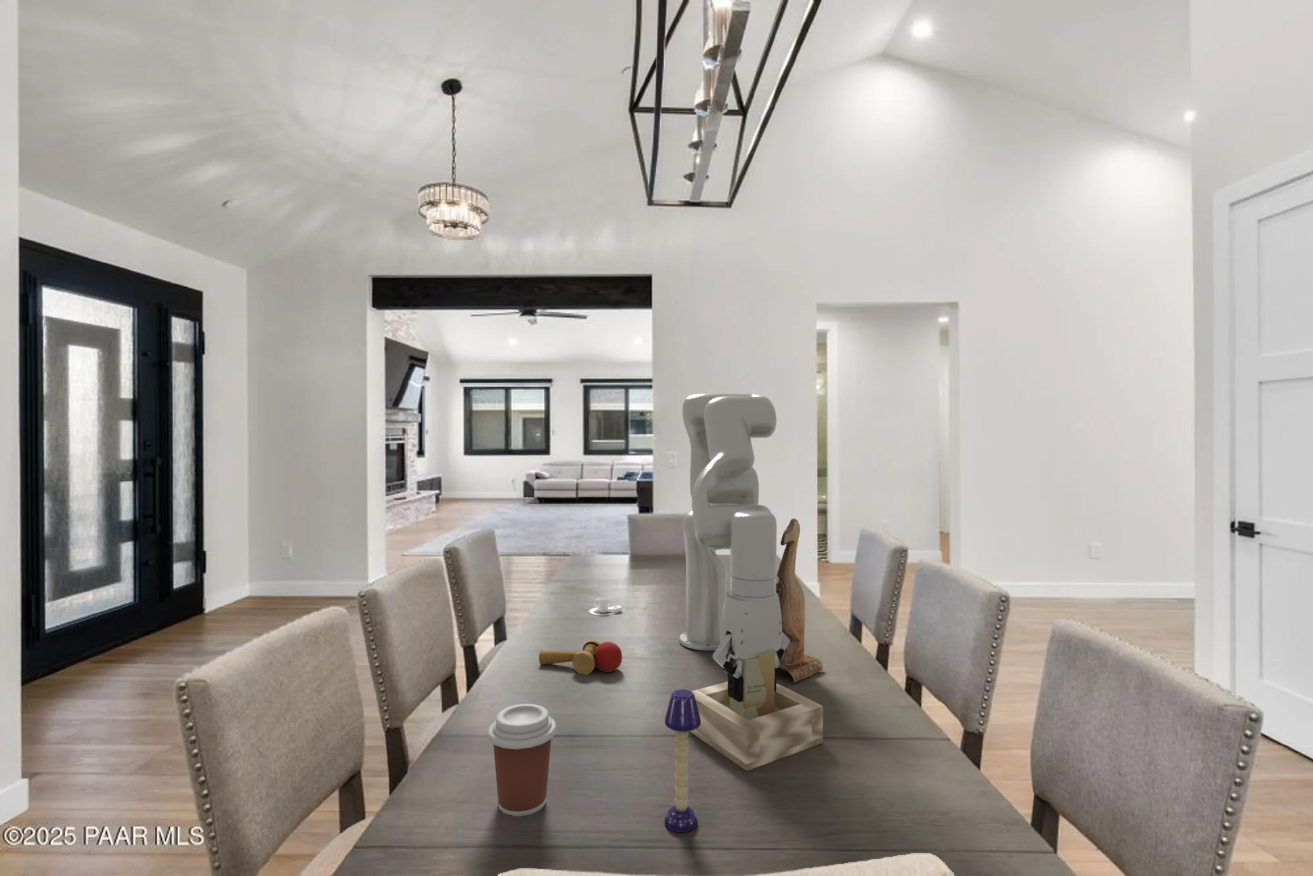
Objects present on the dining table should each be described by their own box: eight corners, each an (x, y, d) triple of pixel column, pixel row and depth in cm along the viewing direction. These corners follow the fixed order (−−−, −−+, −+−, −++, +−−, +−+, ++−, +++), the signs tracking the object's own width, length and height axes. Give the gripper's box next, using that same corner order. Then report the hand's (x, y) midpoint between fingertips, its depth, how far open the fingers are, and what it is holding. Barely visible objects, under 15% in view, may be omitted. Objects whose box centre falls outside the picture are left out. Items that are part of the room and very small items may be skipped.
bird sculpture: (748, 671, 134) (749, 518, 134) (778, 656, 143) (780, 513, 142) (795, 686, 127) (797, 524, 126) (824, 669, 135) (826, 518, 135)
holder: (756, 706, 117) (757, 673, 117) (822, 743, 104) (823, 706, 104) (684, 728, 109) (685, 692, 109) (746, 771, 95) (746, 730, 95)
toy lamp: (662, 811, 85) (663, 686, 85) (697, 809, 86) (698, 685, 85) (666, 834, 80) (666, 701, 80) (703, 832, 81) (703, 700, 81)
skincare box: (743, 731, 103) (744, 655, 103) (728, 720, 107) (729, 647, 107) (775, 722, 106) (776, 649, 106) (760, 712, 110) (760, 641, 110)
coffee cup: (560, 783, 92) (560, 699, 92) (551, 822, 83) (551, 729, 83) (495, 784, 92) (495, 700, 91) (480, 823, 83) (480, 730, 82)
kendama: (534, 678, 134) (616, 674, 129) (532, 647, 135) (613, 641, 131) (549, 671, 141) (627, 667, 137) (547, 641, 142) (625, 637, 138)
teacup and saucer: (625, 612, 178) (626, 597, 178) (608, 619, 172) (608, 604, 172) (600, 607, 183) (600, 593, 183) (583, 614, 176) (583, 599, 176)
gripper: (776, 575, 114) (775, 675, 114) (697, 588, 105) (696, 697, 105) (807, 584, 107) (806, 690, 108) (725, 599, 98) (725, 715, 99)
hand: (752, 693), depth 106 cm, fingers closed on skincare box, 6 cm apart
